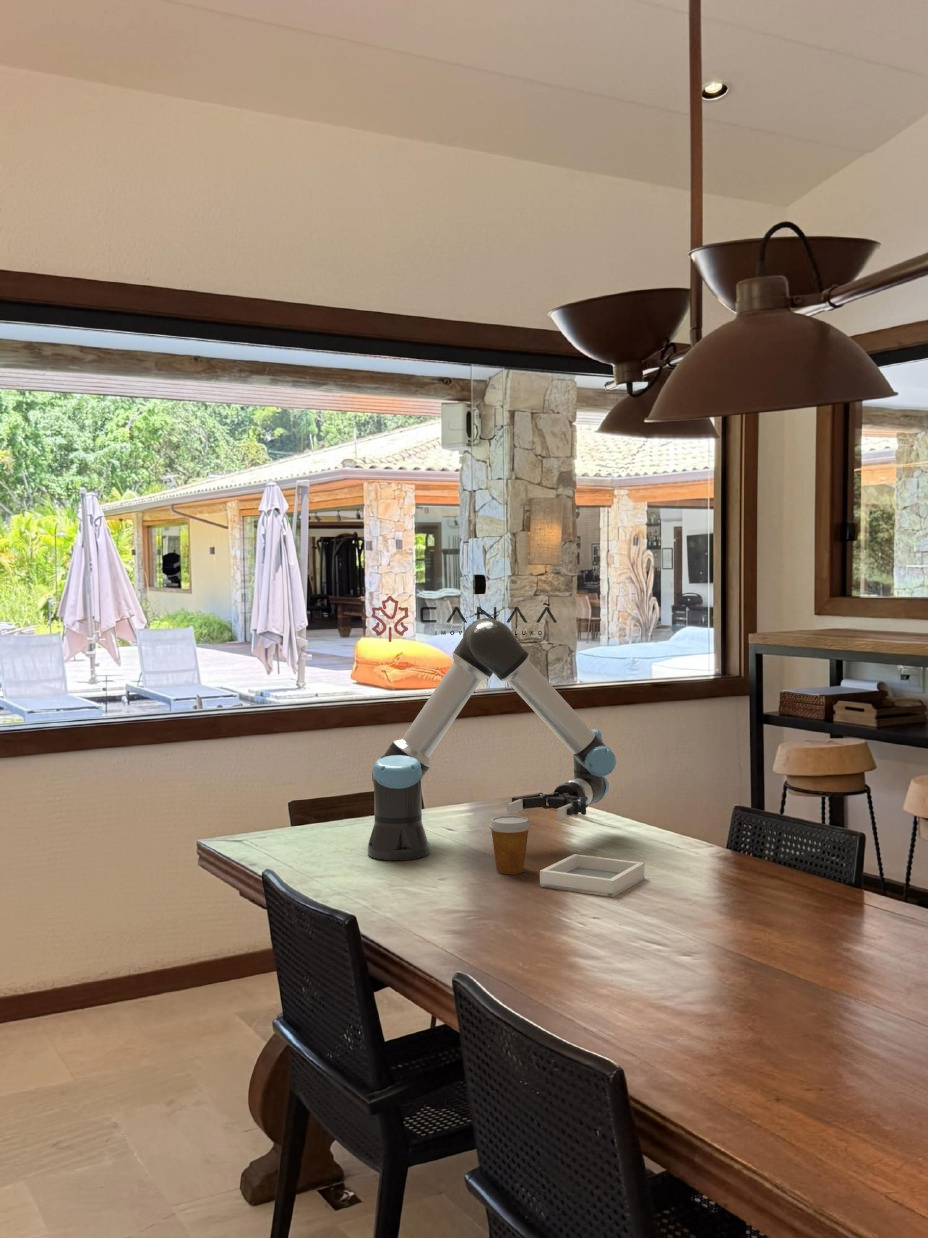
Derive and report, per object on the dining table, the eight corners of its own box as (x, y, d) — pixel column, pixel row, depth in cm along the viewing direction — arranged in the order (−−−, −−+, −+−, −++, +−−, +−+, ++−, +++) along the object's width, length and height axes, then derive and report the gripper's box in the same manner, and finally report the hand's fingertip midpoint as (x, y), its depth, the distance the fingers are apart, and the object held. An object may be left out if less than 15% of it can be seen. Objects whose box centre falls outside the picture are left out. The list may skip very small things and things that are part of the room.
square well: (539, 886, 254) (539, 870, 254) (574, 869, 269) (574, 854, 269) (612, 897, 245) (612, 881, 245) (644, 878, 260) (644, 863, 260)
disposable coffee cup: (536, 868, 271) (536, 817, 270) (521, 878, 262) (521, 825, 262) (499, 864, 275) (498, 814, 274) (483, 873, 266) (482, 821, 266)
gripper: (617, 815, 289) (581, 832, 271) (529, 806, 302) (488, 823, 284) (617, 785, 289) (580, 800, 270) (528, 778, 302) (487, 792, 283)
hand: (533, 812), depth 277 cm, fingers open, 13 cm apart
